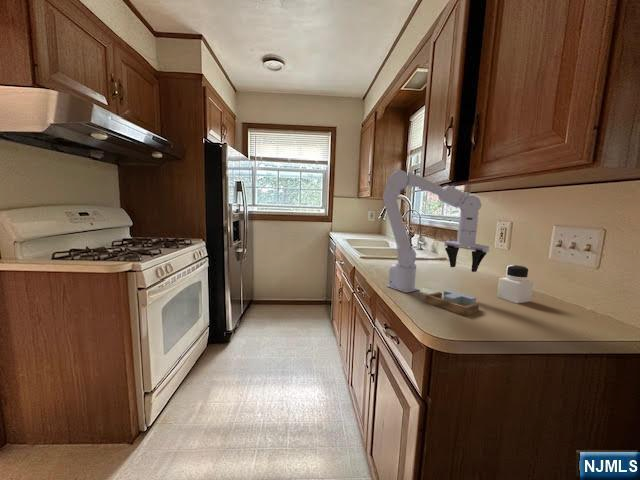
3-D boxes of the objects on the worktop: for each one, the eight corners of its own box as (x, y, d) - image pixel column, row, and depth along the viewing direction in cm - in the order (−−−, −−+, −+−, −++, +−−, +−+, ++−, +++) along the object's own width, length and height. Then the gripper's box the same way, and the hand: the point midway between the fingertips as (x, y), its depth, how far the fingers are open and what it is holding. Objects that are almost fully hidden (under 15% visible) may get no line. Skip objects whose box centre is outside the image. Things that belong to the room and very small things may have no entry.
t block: (434, 303, 88) (435, 292, 88) (448, 299, 93) (449, 289, 92) (461, 312, 81) (462, 301, 81) (475, 308, 85) (476, 297, 85)
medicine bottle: (530, 301, 94) (535, 267, 92) (517, 303, 91) (521, 268, 90) (510, 295, 100) (513, 263, 99) (496, 297, 98) (500, 264, 96)
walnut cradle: (425, 302, 89) (426, 295, 89) (438, 298, 93) (438, 292, 93) (465, 316, 78) (466, 308, 78) (478, 311, 82) (479, 304, 82)
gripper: (495, 232, 91) (490, 272, 92) (453, 228, 103) (450, 264, 104) (484, 233, 87) (480, 274, 88) (442, 229, 99) (439, 265, 100)
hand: (463, 269), depth 96 cm, fingers open, 7 cm apart
